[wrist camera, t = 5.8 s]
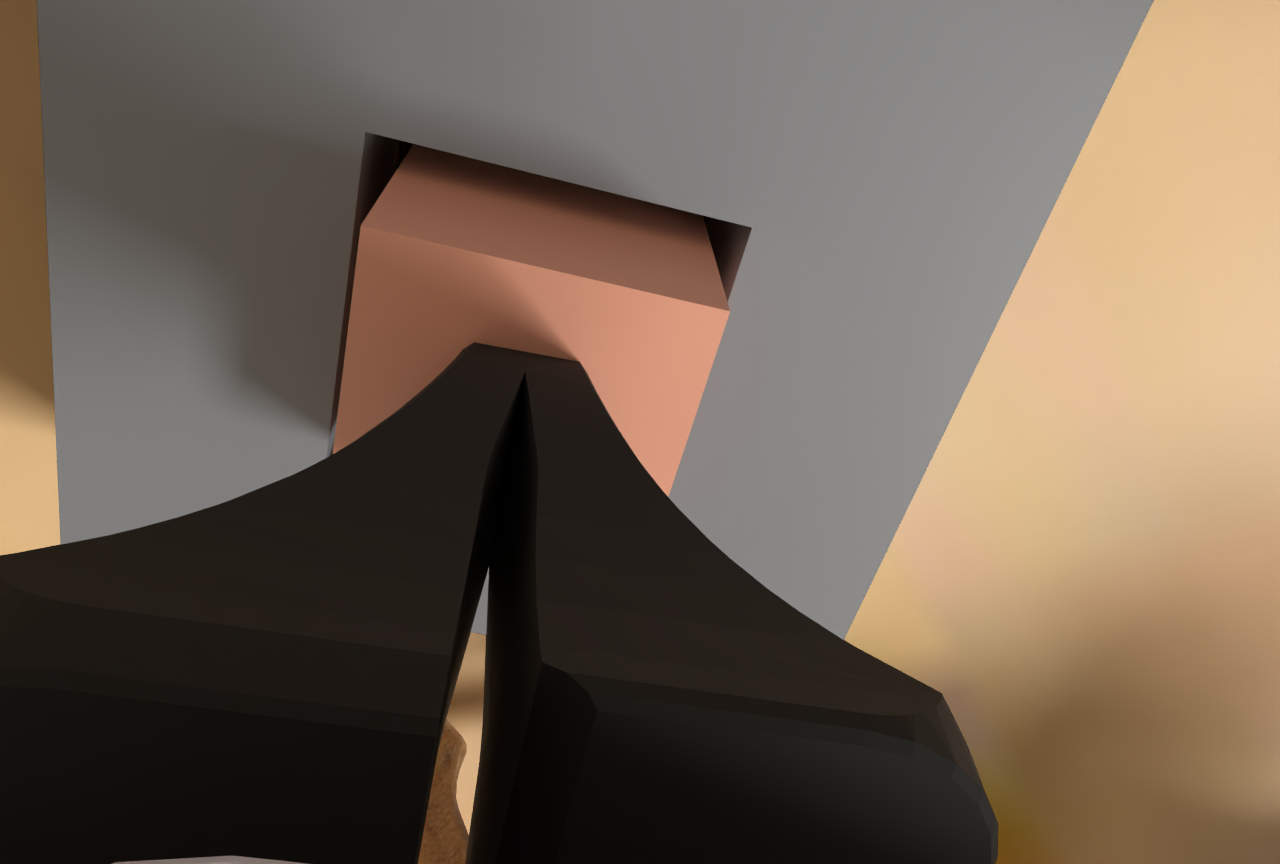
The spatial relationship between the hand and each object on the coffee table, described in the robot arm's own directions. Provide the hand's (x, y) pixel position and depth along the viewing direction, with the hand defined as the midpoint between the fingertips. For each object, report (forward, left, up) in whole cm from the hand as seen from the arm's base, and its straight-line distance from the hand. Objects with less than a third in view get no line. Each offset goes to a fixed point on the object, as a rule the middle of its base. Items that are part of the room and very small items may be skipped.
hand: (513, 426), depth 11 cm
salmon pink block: (0, 0, -4) cm, 4 cm away
